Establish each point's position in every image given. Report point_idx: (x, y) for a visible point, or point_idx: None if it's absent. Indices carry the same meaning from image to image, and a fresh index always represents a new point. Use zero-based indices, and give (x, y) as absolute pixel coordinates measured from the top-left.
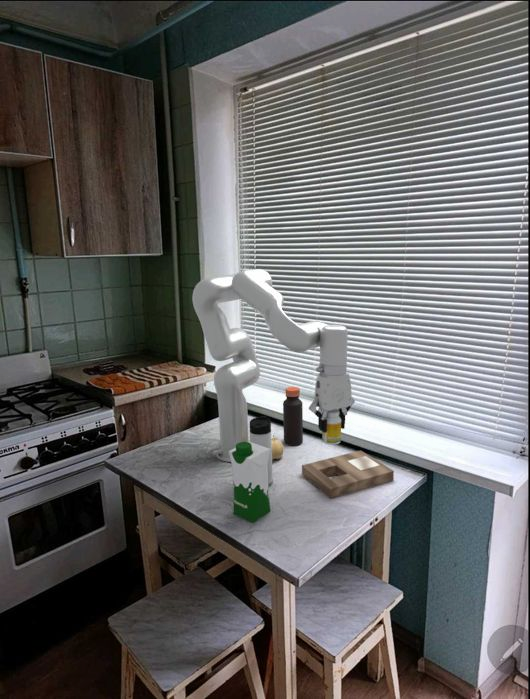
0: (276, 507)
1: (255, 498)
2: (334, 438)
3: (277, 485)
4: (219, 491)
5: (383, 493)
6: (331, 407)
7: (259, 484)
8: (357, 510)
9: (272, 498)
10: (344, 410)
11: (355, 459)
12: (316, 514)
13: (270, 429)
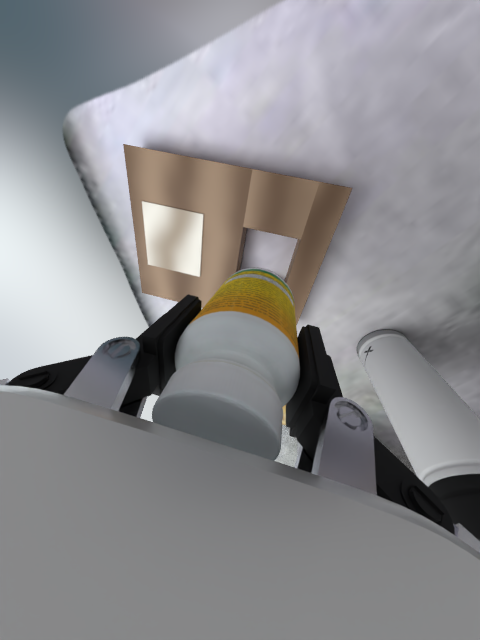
0: (475, 254)
1: None
2: (273, 281)
3: (368, 322)
4: (465, 377)
5: (210, 102)
6: (346, 567)
7: None
8: (352, 60)
9: (433, 291)
10: (106, 374)
11: (178, 268)
12: (456, 141)
13: (476, 485)
